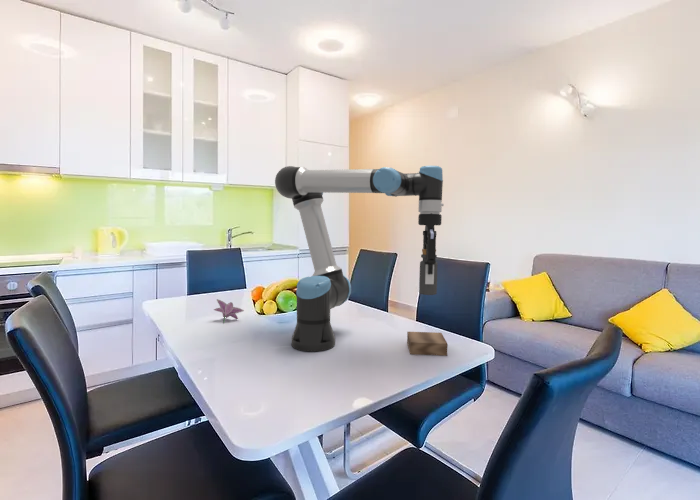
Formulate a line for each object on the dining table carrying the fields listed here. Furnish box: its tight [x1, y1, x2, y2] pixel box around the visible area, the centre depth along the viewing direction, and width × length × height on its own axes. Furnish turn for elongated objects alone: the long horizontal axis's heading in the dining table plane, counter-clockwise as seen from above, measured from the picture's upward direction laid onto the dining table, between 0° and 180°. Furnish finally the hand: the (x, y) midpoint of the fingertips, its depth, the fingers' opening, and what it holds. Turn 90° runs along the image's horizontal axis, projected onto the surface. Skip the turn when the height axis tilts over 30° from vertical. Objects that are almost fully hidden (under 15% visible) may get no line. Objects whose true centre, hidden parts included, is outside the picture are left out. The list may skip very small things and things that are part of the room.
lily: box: [213, 299, 245, 322], centre depth 159 cm, size 12×12×10 cm
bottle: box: [418, 248, 439, 296], centre depth 126 cm, size 6×6×15 cm
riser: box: [406, 331, 448, 356], centre depth 128 cm, size 12×12×4 cm
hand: (428, 282), depth 126 cm, fingers closed on bottle, 6 cm apart
